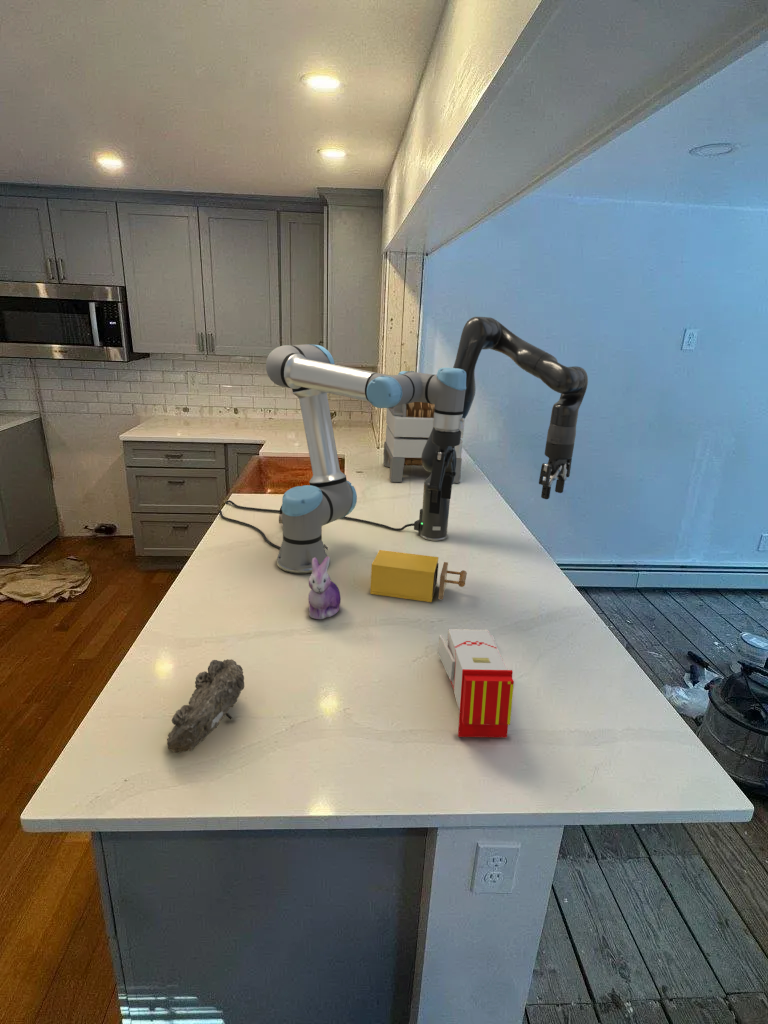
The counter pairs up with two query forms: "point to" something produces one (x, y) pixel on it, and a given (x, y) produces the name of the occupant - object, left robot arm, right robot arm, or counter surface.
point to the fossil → (206, 705)
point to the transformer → (411, 438)
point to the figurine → (322, 591)
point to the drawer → (444, 580)
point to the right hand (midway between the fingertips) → (552, 495)
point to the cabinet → (403, 575)
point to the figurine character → (280, 516)
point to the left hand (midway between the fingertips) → (440, 505)
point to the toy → (478, 682)
